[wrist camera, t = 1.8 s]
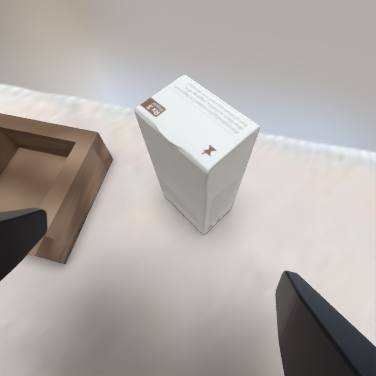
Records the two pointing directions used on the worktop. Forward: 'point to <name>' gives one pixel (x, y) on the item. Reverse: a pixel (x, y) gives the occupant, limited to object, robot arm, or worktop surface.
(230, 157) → the skincare box
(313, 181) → the worktop surface
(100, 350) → the worktop surface
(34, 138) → the walnut socket
